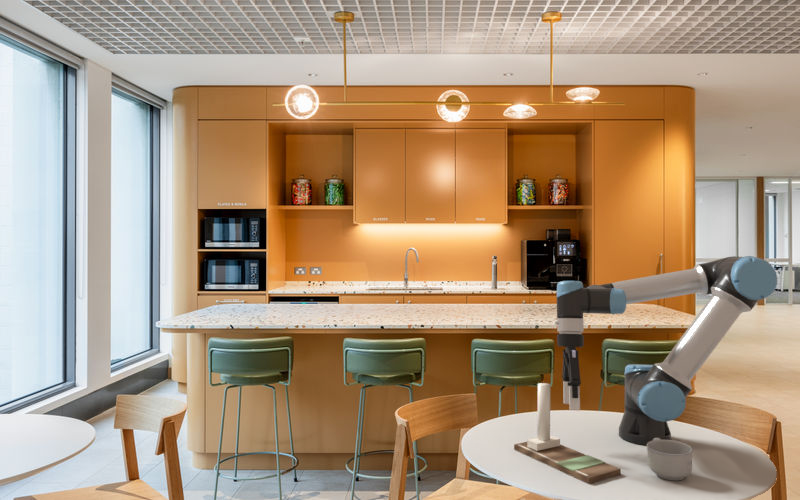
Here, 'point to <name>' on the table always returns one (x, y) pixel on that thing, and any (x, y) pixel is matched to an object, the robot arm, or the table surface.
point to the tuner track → (571, 462)
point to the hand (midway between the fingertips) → (571, 406)
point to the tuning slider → (543, 422)
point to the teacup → (669, 458)
